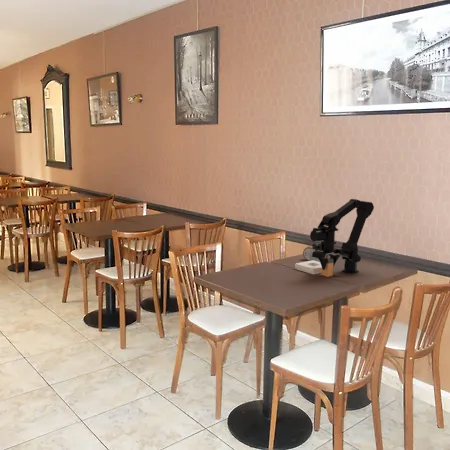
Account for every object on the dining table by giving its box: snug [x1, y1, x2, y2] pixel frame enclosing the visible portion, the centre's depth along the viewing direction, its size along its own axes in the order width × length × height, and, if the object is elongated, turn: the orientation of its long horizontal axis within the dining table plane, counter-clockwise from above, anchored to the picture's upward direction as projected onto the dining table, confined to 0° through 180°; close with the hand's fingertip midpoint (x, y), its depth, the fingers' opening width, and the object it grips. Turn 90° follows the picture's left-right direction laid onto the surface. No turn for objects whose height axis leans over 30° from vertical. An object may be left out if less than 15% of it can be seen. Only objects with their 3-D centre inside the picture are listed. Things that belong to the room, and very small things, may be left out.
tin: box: [302, 245, 329, 262], centre depth 280 cm, size 15×3×8 cm, turn 58°
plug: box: [321, 256, 334, 278], centre depth 250 cm, size 4×4×9 cm
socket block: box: [294, 260, 322, 275], centre depth 262 cm, size 14×14×3 cm
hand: (327, 268), depth 251 cm, fingers open, 6 cm apart
